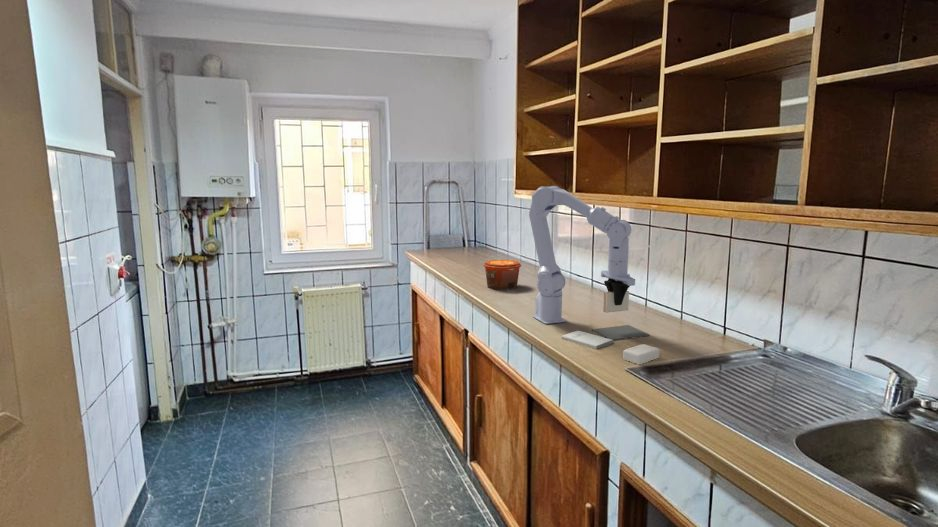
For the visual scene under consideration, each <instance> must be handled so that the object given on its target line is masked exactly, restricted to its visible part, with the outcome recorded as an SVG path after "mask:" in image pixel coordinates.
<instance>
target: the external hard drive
mask: <svg viewBox="0 0 938 527" xmlns="http://www.w3.org/2000/svg"><path fill="white" fill-rule="evenodd" d="M562 338H564V339H567V340H566V341H568V340H570V341H569V342H571V341H573V342H572V343H574V342H576V343H575V344H577V343H580V344H579V345H581V344H583V345H582V346H584V345H586V346H585V347H587V346H589V347H588V348H591V347H592V348H591V349H594V348H595V349H594V350H598V349H600V347H601V348H603V346H604V347H606V346H605V345H607V346H609V345H612V344H614V340H611V339H608V338H605V337H603V336H601V335H598V334H592V333H588V332H585V331H581V330H575V331H572V332H569V333H566V334H562V335H561V339H562ZM564 339H563V340H564ZM611 343H612V344H611ZM608 344H609V345H608ZM597 348H598V349H597Z"/></svg>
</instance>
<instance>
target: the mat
mask: <svg viewBox="0 0 938 527" xmlns="http://www.w3.org/2000/svg"><path fill="white" fill-rule="evenodd" d="M593 331H594V332H593ZM591 332H593V333H595V332H596V333H595V334H597V333H598V334H597V335H599V334H600V335H599V336H601V335H602V336H601V337H603V336H604V338H605V337H606V338H608V339H611V340H613V341H619V340H618V339H621V340H625V338H629V339H633V338H632V337H636V338H641V337H640V336H644V337H649V336H648V335H650V336H651V334H649V333H648V332H645V331H643V330H641V329H638V328H636V327H634V326H632V325H629V324H625V325H617V326H609V327H600V328H593V329H592V328H591Z"/></svg>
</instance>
